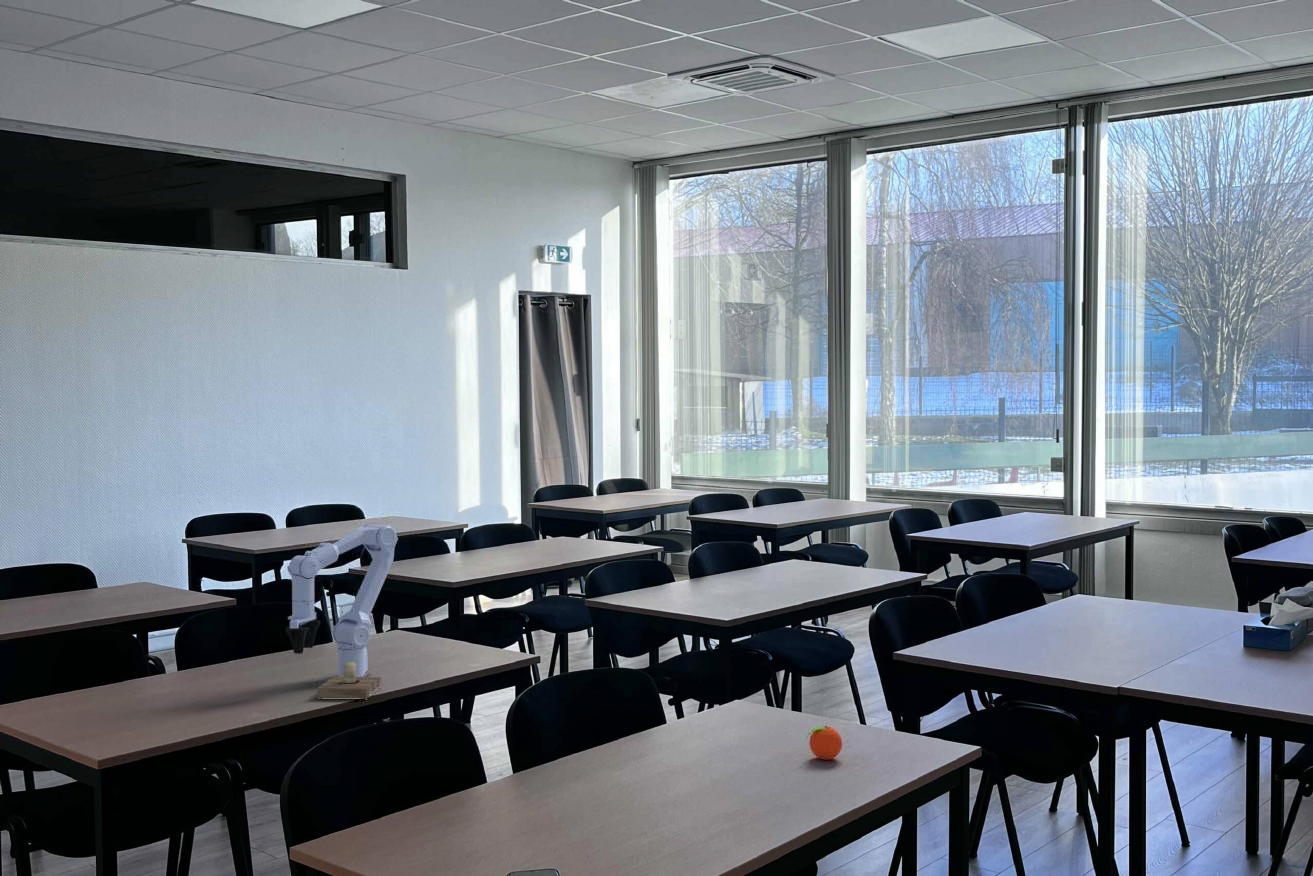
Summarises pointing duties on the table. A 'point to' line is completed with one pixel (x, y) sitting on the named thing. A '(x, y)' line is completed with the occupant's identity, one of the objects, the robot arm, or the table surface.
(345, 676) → the peg
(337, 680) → the board
